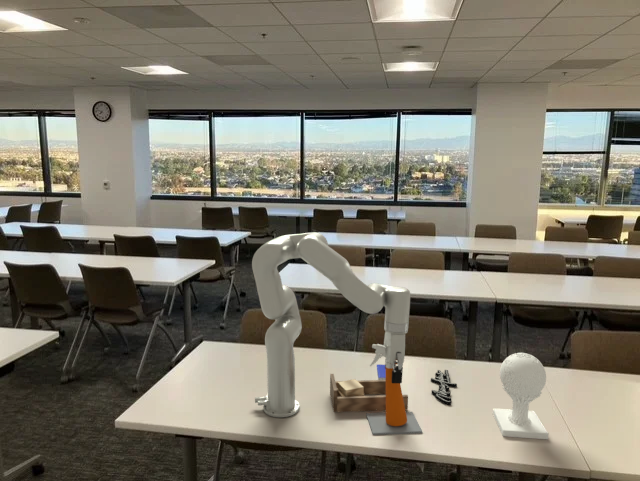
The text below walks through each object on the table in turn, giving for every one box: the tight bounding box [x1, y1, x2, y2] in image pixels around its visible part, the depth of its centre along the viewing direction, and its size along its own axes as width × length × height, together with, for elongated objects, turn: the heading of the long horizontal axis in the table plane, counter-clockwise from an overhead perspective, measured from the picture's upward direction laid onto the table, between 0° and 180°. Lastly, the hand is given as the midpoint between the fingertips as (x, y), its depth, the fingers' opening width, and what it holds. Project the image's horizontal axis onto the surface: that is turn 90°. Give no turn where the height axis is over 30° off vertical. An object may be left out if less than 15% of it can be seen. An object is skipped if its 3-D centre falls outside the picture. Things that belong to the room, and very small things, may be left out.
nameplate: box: [430, 369, 458, 406], centre depth 182 cm, size 27×2×10 cm
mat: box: [365, 411, 423, 436], centre depth 156 cm, size 16×12×1 cm
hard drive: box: [376, 364, 386, 380], centre depth 193 cm, size 2×8×12 cm
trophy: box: [492, 352, 549, 440], centre depth 153 cm, size 14×14×25 cm
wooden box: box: [329, 373, 409, 413], centre depth 170 cm, size 26×13×8 cm, turn 94°
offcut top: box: [338, 378, 365, 397], centre depth 169 cm, size 7×7×2 cm
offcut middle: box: [337, 388, 365, 397], centre depth 169 cm, size 8×7×2 cm
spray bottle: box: [369, 343, 407, 426], centre depth 155 cm, size 7×11×26 cm, turn 68°
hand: (393, 375), depth 153 cm, fingers open, 9 cm apart
